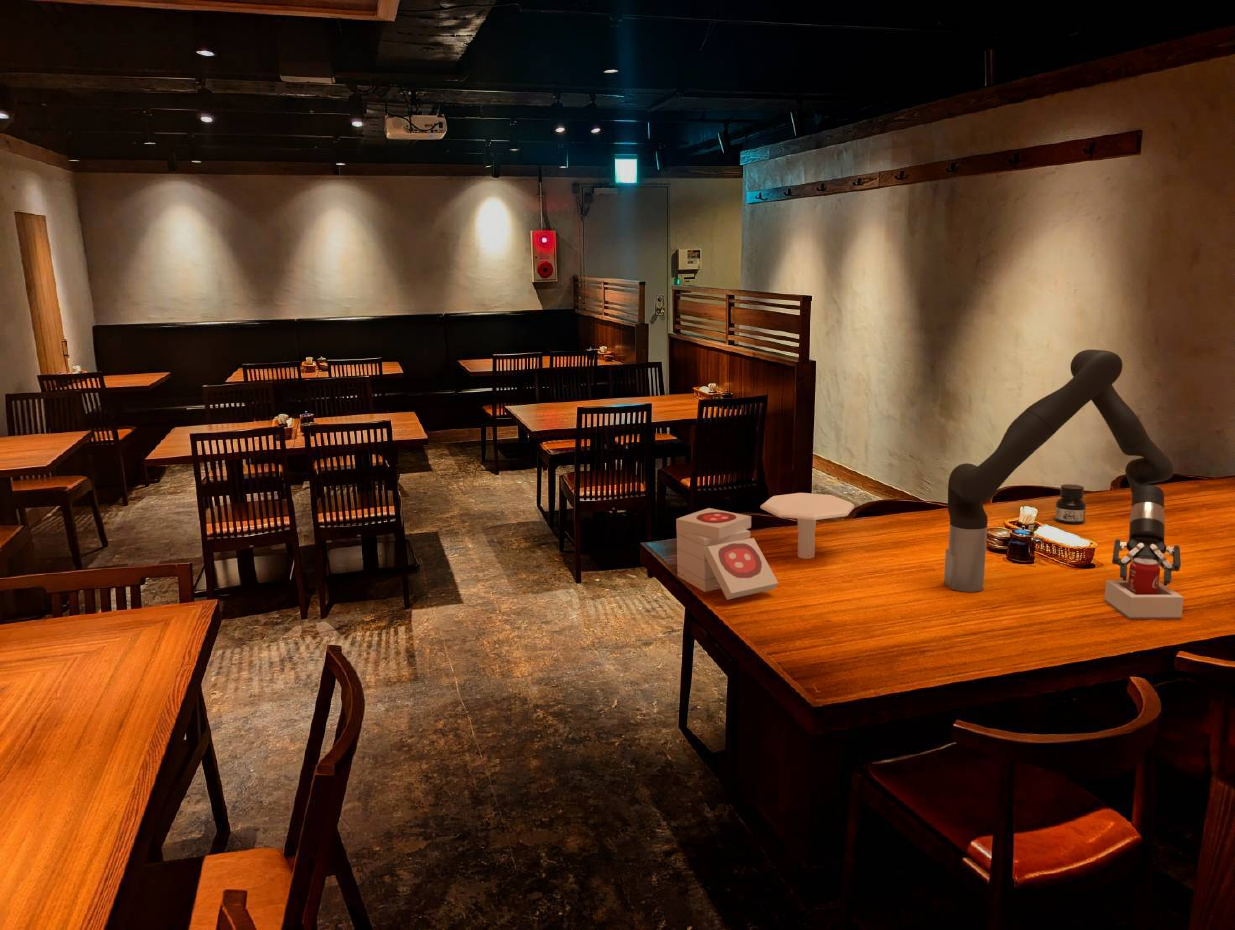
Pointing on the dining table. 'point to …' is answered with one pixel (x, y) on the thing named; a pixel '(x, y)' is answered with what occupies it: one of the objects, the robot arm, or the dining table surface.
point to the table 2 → (807, 514)
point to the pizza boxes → (721, 554)
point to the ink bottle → (1070, 505)
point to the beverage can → (1144, 577)
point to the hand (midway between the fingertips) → (1145, 581)
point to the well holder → (1143, 602)
